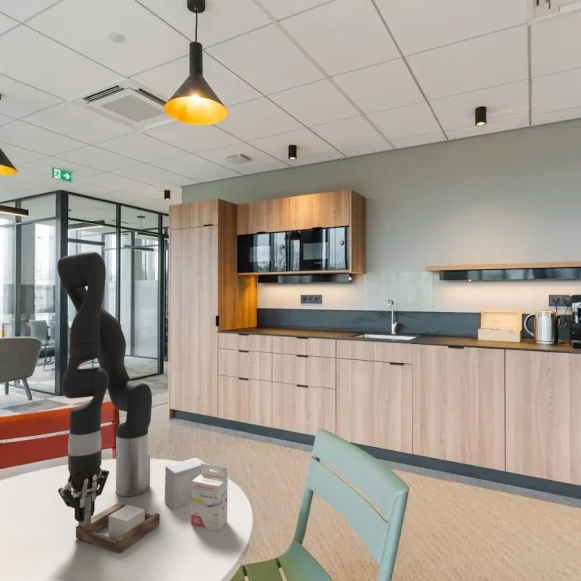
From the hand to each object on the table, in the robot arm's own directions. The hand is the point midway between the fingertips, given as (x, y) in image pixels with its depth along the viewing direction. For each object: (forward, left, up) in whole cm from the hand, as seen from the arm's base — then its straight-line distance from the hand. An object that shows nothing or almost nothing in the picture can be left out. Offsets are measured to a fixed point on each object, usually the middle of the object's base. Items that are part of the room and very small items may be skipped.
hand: (84, 518), depth 106 cm
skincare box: (-26, +11, -5) cm, 29 cm away
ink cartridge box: (-18, +25, -5) cm, 31 cm away
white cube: (-5, +9, -5) cm, 12 cm away
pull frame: (-5, +7, -5) cm, 10 cm away
